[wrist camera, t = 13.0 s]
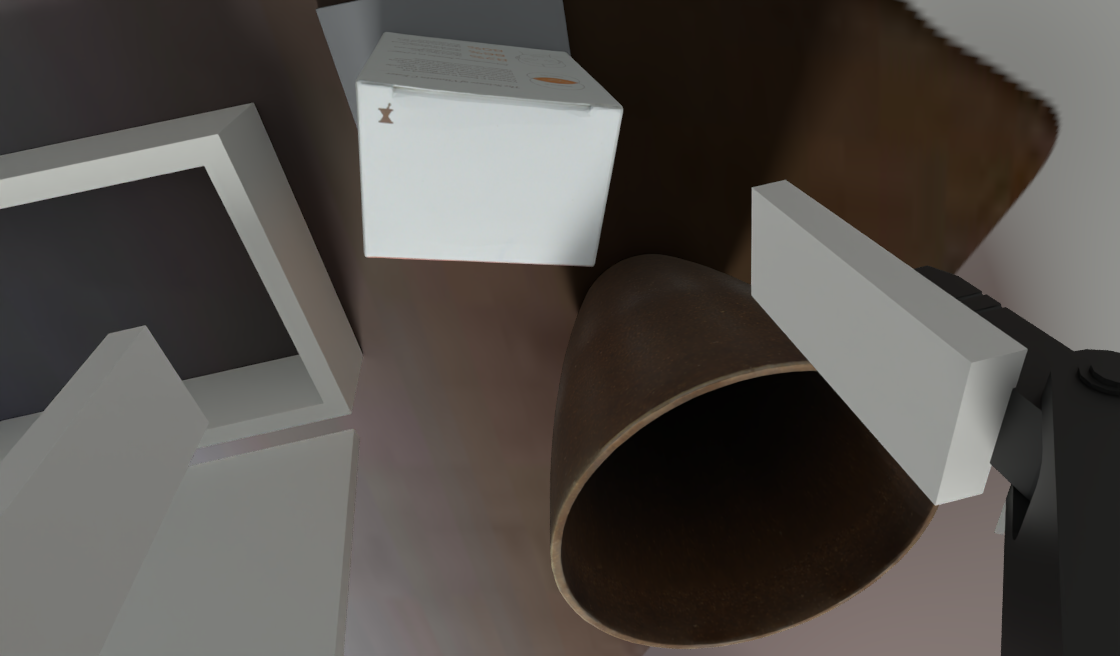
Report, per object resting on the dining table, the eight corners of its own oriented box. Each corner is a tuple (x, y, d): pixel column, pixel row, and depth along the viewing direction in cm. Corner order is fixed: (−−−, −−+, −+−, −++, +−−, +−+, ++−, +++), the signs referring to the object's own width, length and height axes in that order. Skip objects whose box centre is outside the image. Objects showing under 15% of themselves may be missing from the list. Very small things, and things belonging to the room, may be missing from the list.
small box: (384, 159, 29) (356, 261, 20) (382, 27, 26) (347, 77, 17) (554, 173, 30) (597, 273, 21) (570, 50, 27) (627, 106, 18)
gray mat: (394, 228, 31) (393, 232, 31) (318, 8, 25) (315, 9, 25) (588, 185, 31) (590, 189, 31) (554, -41, 26) (556, -40, 25)
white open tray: (-30, 443, 34) (-97, 515, 30) (-259, 209, 26) (-393, 262, 22) (363, 355, 35) (351, 413, 31) (253, 102, 27) (217, 133, 23)
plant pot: (457, 318, 34) (461, 564, 21) (661, 122, 30) (828, 275, 17) (626, 443, 42) (708, 685, 28) (810, 299, 37) (1010, 504, 24)
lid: (-96, 530, 30) (-68, 546, 31) (-365, 942, 19) (-309, 943, 21) (354, 428, 30) (365, 447, 32) (324, 774, 20) (343, 783, 21)
